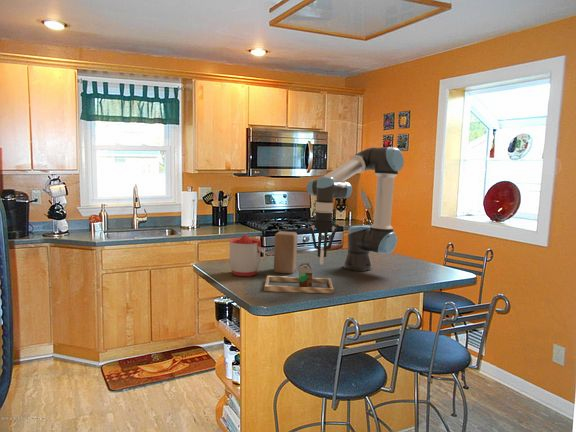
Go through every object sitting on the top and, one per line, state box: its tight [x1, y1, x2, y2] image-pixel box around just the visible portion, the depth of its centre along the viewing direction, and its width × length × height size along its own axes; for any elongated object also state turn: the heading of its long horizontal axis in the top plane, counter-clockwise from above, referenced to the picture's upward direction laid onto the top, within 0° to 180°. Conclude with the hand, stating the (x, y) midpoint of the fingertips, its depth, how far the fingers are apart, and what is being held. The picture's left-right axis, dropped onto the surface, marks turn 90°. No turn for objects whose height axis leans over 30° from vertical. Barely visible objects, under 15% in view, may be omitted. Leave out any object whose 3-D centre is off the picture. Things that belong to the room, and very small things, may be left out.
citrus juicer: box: [228, 234, 265, 277], centre depth 221 cm, size 16×17×20 cm
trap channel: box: [263, 275, 335, 294], centre depth 203 cm, size 30×17×2 cm, turn 89°
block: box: [273, 230, 298, 274], centre depth 230 cm, size 10×10×20 cm
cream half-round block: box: [296, 262, 314, 287], centre depth 203 cm, size 12×6×10 cm, turn 5°
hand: (321, 264), depth 201 cm, fingers closed
